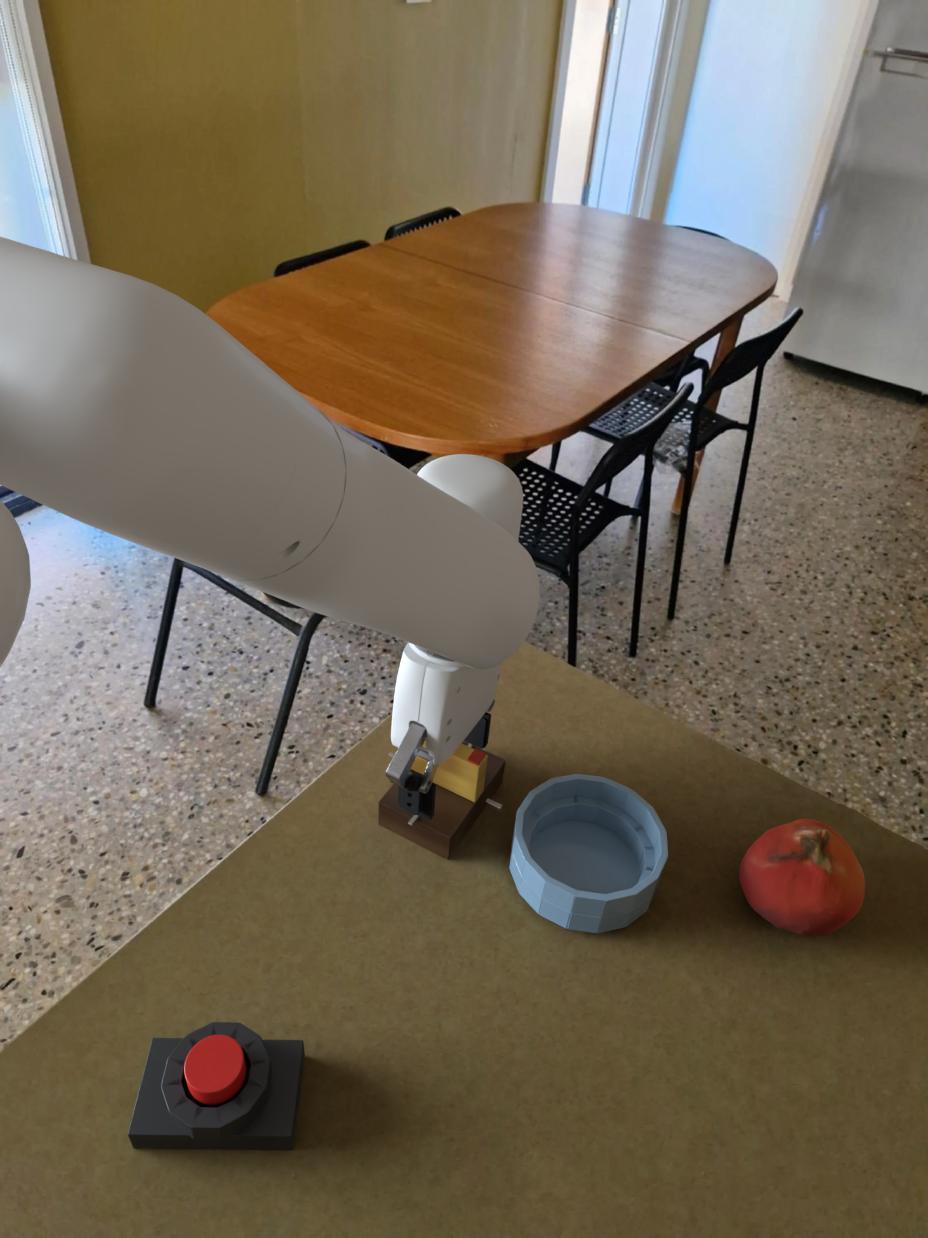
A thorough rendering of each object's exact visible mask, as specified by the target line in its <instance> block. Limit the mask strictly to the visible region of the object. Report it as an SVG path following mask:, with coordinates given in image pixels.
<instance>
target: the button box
mask: <svg viewBox="0 0 928 1238" xmlns="http://www.w3.org/2000/svg"><path fill="white" fill-rule="evenodd" d="M212 1035H226V1036H229V1037H231V1038H233V1039H235V1040H236V1041H237V1042H238V1043H239V1045H240V1046H241V1048H242V1051H243V1054H244V1060H245V1065H246V1076H245V1080H244V1082H243V1084H242V1086H241V1088H240V1090H239V1091H238V1092H237V1093H236V1094H235V1095H234V1096H233V1097H232V1098H230V1099H229V1100H227V1101H225V1102H223V1103H220V1104H216V1105H207V1104H203V1103H201V1102H199V1101H197V1100H196V1099H195V1098H194V1097H193V1096H192V1095H191V1093H190V1091H189V1089H188V1085H187V1082H186V1078H185V1075H184V1065H185V1061H186V1058H187V1055H188V1054H189V1052H190V1051H191V1049H192V1048H193V1047H194V1046H195V1045H196V1044H197V1043H198V1042H199V1041H201V1040H202V1039H204V1038H206V1037H209V1036H212ZM304 1043H305V1042H304V1040H303V1039H262V1036H261V1035H260V1034H258V1033H257V1032H255V1031H253V1030H252V1029H250V1028H248V1027H247V1026H245V1025H244V1024H243V1023H241V1022H237V1021H236V1022H229V1021H212V1022H210V1023H208V1024H206V1025H204V1026H201V1027H199V1028H198V1029H195V1030H193V1031H191V1032H190V1033H187V1034H186V1035H185V1036H184V1037H152V1038H151V1041H150V1045H149V1050H148V1053H147V1057H146V1061H145V1065H144V1069H143V1074H142V1075H141V1076H142V1077H141V1080H140V1086H139V1089H138V1092H137V1096H136V1100H135V1104H134V1107H133V1111H132V1115H131V1120H130V1123H129V1126H128V1131H127V1137H128V1139H129V1142H130V1143H131V1147H132V1148H133V1149H135V1150H137V1149H138V1150H223V1151H225V1150H226V1151H227V1150H228V1151H229V1150H232V1151H235V1150H236V1151H241V1150H242V1151H293V1150H294V1149H295V1138H296V1131H297V1122H298V1115H299V1107H300V1099H301V1091H302V1083H303V1082H302V1081H303V1073H304V1066H305V1065H304V1064H305V1057H306V1055H305V1044H304Z"/></svg>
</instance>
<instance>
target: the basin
mask: <svg viewBox="0 0 928 1238" xmlns="http://www.w3.org/2000/svg"><path fill="white" fill-rule="evenodd" d="M510 844H511V845H510V855H509V857H510V858H509V865H508V867H509V871H510V874H511V877H512V879H513V882H514V884H515V887H516V891H517V892H518V894H519V895H520V896H521V897H522V899H524V901H525V902H526V903H527V904H528V905H529V906H530V907H531V909H533V911H534V912H535V913H536V914H537V915H538V916H541V917H542V918H544V919H546V920H548V921H550V922H552V923H553V924H556V925H558V926H560V927H562V928H564V929H566V930H569V931H578V932H584V933H592V934H602V933H607V932H610V931H614V930H619V929H622V928H623V929H624V928H627V927H628V926H630V925H631V924H632V923H634V922H635V921H636V920H637V919H638V918H640V917H642V916H643V915H644V914H645V913H646V912H647V911H648V910H649V907H650V905H651V903H652V901H653V899H654V896H655V894H656V892H657V890H658V887H659V884H660V881H661V878H662V875H663V874H664V873H663V872H664V870H665V867H666V864H667V861H668V858H669V848H668V834H667V830H666V828H665V826H664V824H663V822H662V821H661V819H660V817H659V815H658V813H657V811H656V810H655V808H654V806H652V805H651V804H650V803H649V802H647V800H645V799H644V798H643V797H642V796H641V795H640V794H638V793H637V792H636V791H635V790H634V789H632V788H631V787H628V786H626V785H624V784H621V783H619V782H618V781H615V780H612V779H610V778H609V777H604V776H598V775H590V774H583V773H574V774H567V775H563V776H557V777H552V778H549V779H548V780H546V781H545V782H542V783H541V784H539V785H538V786H536V787H534V788H533V789H531V790H530V791H529V792H528V793H527V795H526V796H525V798H524V800H523V801H522V802H521V804H520V806H519V807H518V809H517V810H516V814H515V821H514V826H513V833H512V838H511V843H510Z"/></svg>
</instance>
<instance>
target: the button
mask: <svg viewBox="0 0 928 1238" xmlns="http://www.w3.org/2000/svg"><path fill="white" fill-rule="evenodd" d="M184 1075H185V1078H186V1082H187V1085H188V1089H189V1091H190V1093H191V1095H192V1096H193V1097H194V1098H195V1099H196V1100H197V1101H199V1102H201V1103H203V1104H207V1105H216V1104H220V1103H223V1102H225V1101H227V1100H229V1099H230V1098H232V1097H233V1096H234V1095H235V1094H236V1093H237V1092H238V1091H239V1090H240V1088H241V1086H242V1084H243V1082H244V1080H245V1076H246V1065H245V1060H244V1054H243V1051H242V1048H241V1046H240V1045H239V1043H238V1042H237V1041H236V1040H235V1039H233V1038H231V1037H229V1036H226V1035H212V1036H209V1037H206V1038H204V1039H202V1040H201V1041H199V1042H198V1043H197V1044H196V1045H195V1046H194V1047H193V1048H192V1049H191V1051H190V1052H189V1054H188V1055H187V1058H186V1061H185V1065H184Z"/></svg>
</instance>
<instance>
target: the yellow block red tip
mask: <svg viewBox="0 0 928 1238" xmlns="http://www.w3.org/2000/svg"><path fill="white" fill-rule="evenodd" d="M422 747H425V748H427V747H426V740H425V742H424V744H423V746H422ZM487 759H488V755H486V754H485V753H483V752H481V751H479V750H477V749H473V748H470V747H468V746H466V745H464V744H462V743H461V744H460V746H459V747H458V748H457V749H456V751H455V752H454V753H453V754H452V755H451V757H450V758H449V759H448V760H447V761H445V762H444V763H441V764H439V766H438V769H437V771H436V774H435V777H434V779H433V783H435V784H437V785H439V786H441V787H443V788H446V789H448V790H450V791H452V792H454V793H456V794H458V795H460V796H462V797H464V798H466V799H468V800H470V801H472V802H476V801H477V799H478V798H479V796H480V795H481V794H482V792H483V791H484V783H485V775H486V767H487ZM427 764H428V761H427V760H425V759H423V758H421V757H419V756H417V757H416V759H415V761H414V763H413V764H412V767H411V769H412V770H414V771H416V772H419V773H421V774H423V775H424V772H425V769H426V767H427Z"/></svg>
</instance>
